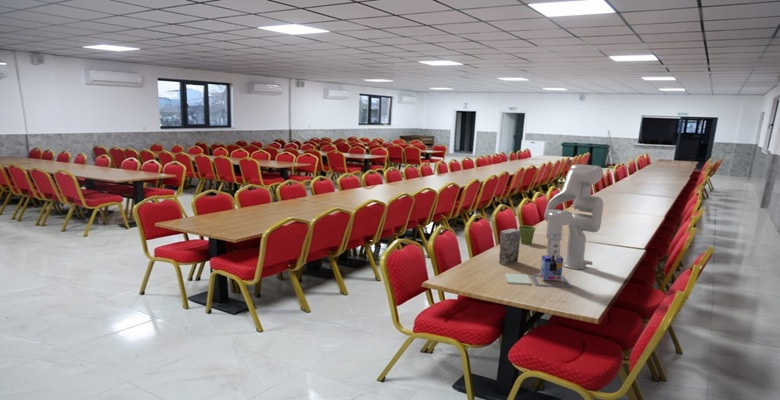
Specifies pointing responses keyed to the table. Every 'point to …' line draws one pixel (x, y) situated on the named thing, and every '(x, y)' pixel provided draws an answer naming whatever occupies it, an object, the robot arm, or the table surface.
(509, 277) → the sage board
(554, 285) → the marked spot frame
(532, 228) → the plant pot
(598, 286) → the table surface
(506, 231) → the stone block
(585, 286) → the table surface
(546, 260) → the ink cartridge box
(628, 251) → the table surface
